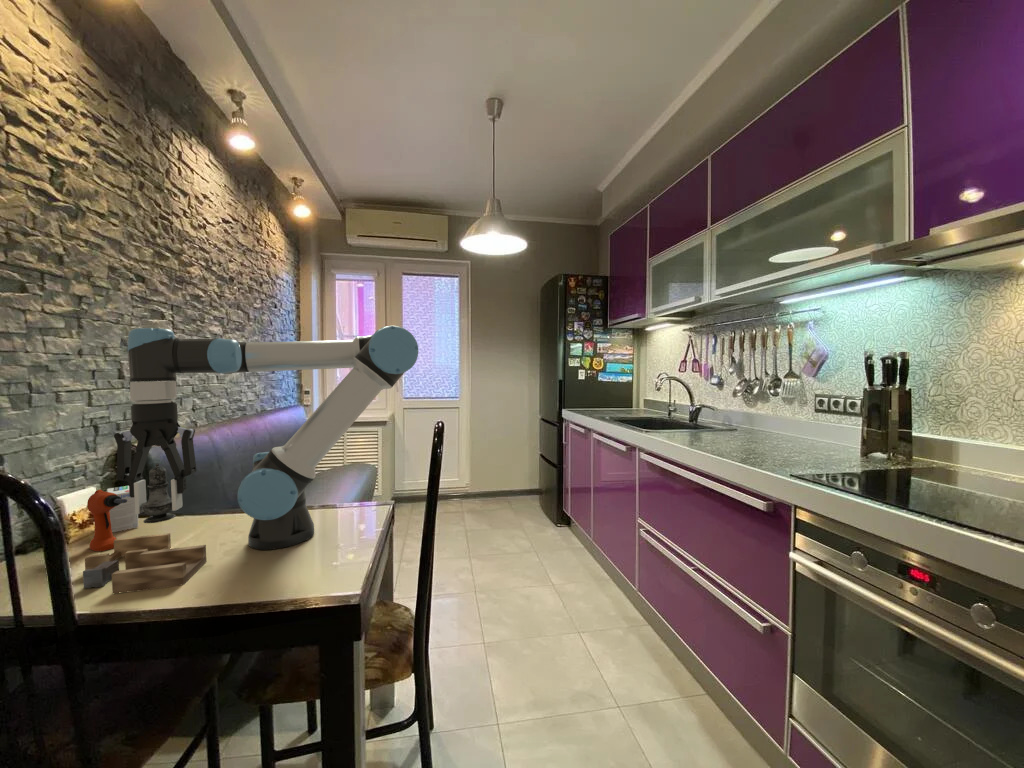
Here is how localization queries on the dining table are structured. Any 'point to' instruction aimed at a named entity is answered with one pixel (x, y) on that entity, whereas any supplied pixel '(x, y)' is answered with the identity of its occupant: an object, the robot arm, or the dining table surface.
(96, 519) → the toy drill
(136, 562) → the socket frame
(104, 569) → the bar
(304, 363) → the robot arm
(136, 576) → the rack
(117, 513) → the light bulb box
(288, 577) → the dining table surface
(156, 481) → the chess piece
